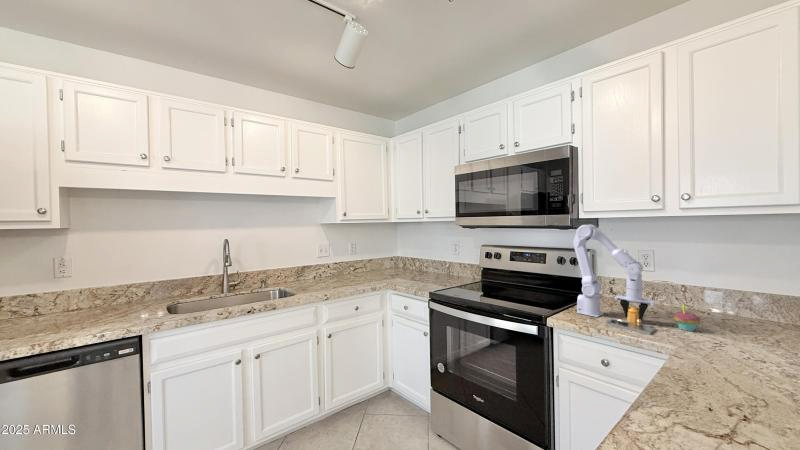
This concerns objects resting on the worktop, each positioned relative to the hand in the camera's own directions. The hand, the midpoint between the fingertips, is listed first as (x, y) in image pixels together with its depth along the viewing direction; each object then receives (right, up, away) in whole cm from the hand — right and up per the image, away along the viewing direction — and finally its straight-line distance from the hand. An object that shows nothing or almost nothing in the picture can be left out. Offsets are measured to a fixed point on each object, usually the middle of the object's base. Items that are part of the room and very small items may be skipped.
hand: (633, 318), depth 144 cm
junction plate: (-6, -2, -6) cm, 9 cm away
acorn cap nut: (0, -2, 0) cm, 2 cm away
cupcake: (+15, -2, -10) cm, 18 cm away
